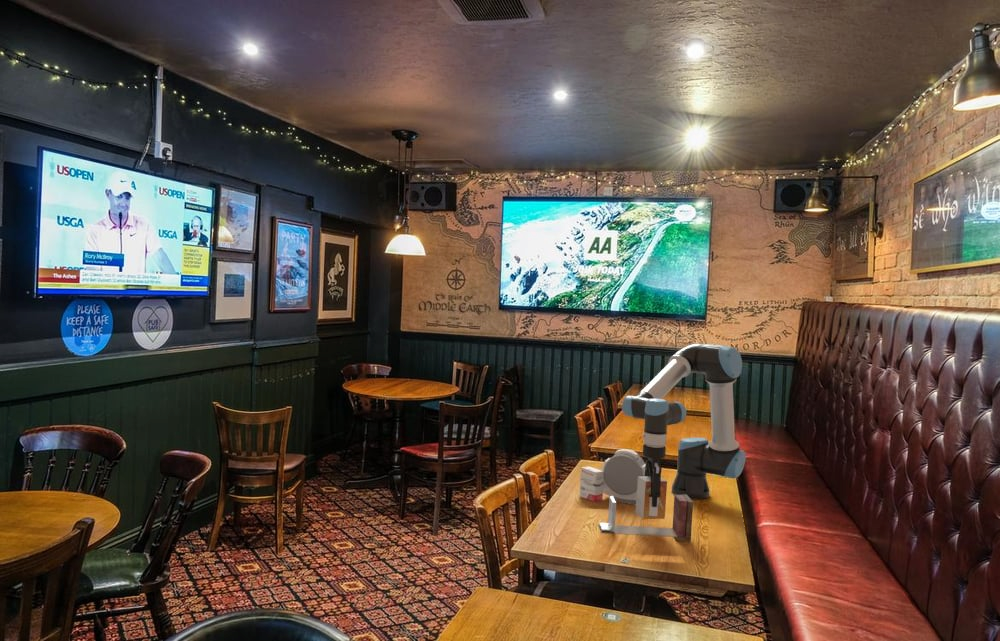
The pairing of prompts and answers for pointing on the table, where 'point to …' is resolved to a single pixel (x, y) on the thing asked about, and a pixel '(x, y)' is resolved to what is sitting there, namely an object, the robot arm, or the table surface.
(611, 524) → the bookend
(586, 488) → the ink box
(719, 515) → the table surface
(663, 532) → the book board
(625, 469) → the alarm clock
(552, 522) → the table surface
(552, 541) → the table surface
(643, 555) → the table surface
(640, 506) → the small box
